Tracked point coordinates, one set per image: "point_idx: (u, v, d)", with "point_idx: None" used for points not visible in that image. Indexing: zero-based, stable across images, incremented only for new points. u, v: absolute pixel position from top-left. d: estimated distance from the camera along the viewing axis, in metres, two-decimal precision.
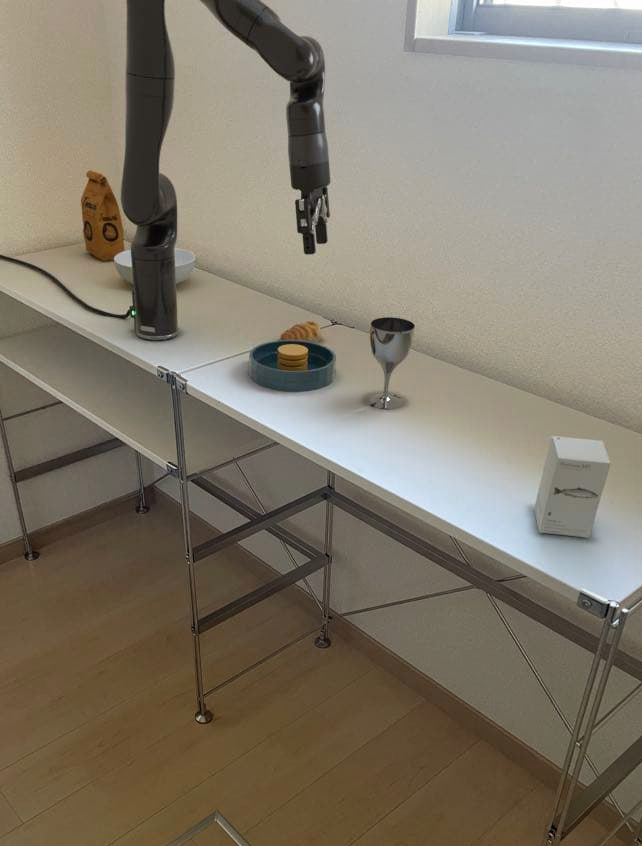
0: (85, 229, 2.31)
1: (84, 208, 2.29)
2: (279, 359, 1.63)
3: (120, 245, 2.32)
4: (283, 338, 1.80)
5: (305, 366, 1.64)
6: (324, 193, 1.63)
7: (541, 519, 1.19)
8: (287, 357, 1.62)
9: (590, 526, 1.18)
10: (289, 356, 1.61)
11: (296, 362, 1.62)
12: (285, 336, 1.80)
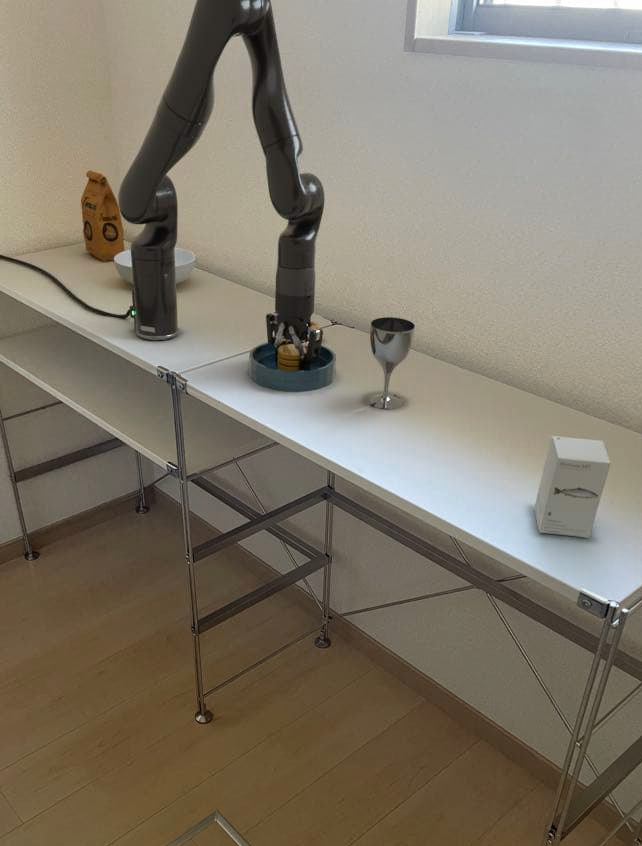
0: (85, 229, 2.31)
1: (84, 208, 2.29)
2: (279, 359, 1.63)
3: (120, 245, 2.32)
4: None
5: None
6: None
7: (541, 519, 1.19)
8: (287, 357, 1.62)
9: (590, 526, 1.18)
10: (289, 356, 1.61)
11: (296, 362, 1.62)
12: None
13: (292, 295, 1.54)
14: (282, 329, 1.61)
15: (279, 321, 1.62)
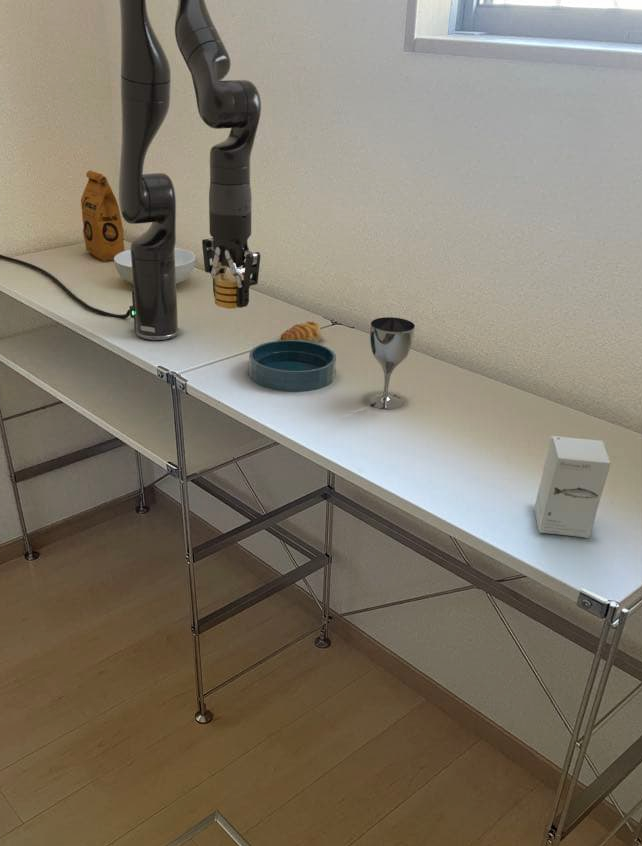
0: (85, 229, 2.31)
1: (84, 208, 2.29)
2: (216, 287, 1.53)
3: (120, 245, 2.32)
4: (283, 338, 1.80)
5: None
6: None
7: (541, 519, 1.19)
8: (224, 284, 1.51)
9: (590, 526, 1.18)
10: (226, 284, 1.51)
11: (233, 290, 1.52)
12: (285, 336, 1.80)
13: (226, 214, 1.44)
14: (218, 254, 1.51)
15: (215, 246, 1.52)
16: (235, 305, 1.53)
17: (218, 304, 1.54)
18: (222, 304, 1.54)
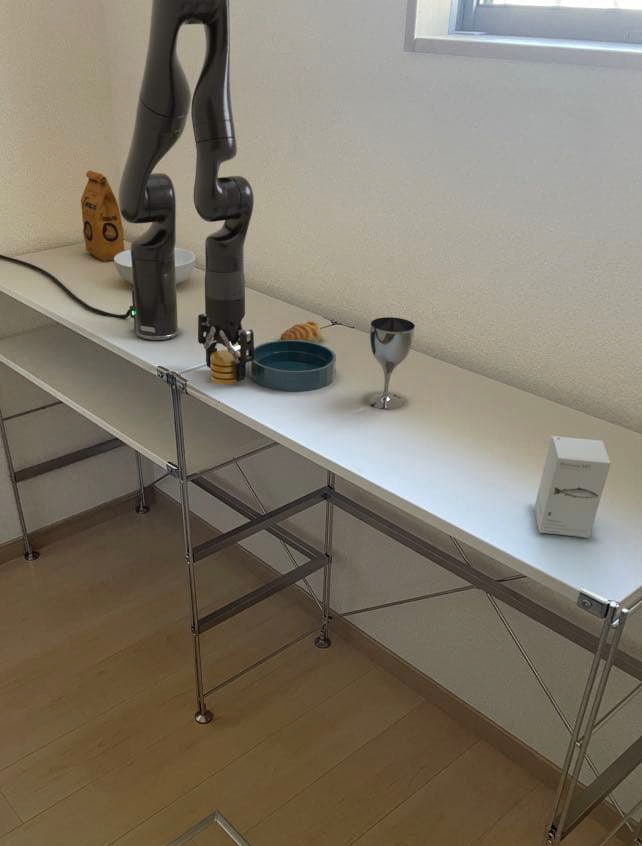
0: (85, 229, 2.31)
1: (84, 208, 2.29)
2: (211, 365, 1.61)
3: (120, 245, 2.32)
4: (283, 338, 1.80)
5: None
6: None
7: (541, 519, 1.19)
8: (219, 363, 1.59)
9: (590, 526, 1.18)
10: (221, 362, 1.59)
11: (228, 368, 1.60)
12: (285, 336, 1.80)
13: (220, 299, 1.52)
14: (213, 333, 1.59)
15: (211, 325, 1.60)
16: (230, 382, 1.61)
17: (213, 380, 1.62)
18: (217, 381, 1.62)
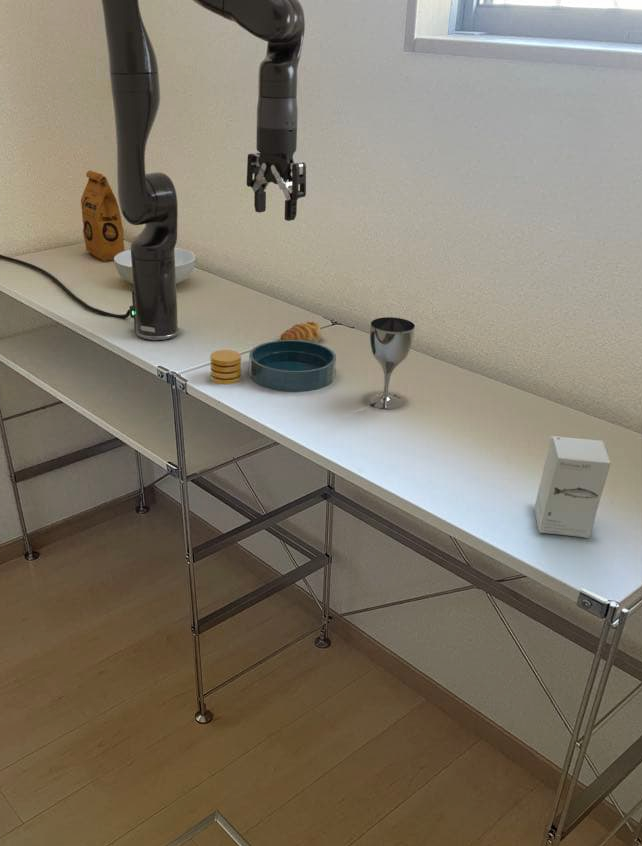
0: (85, 229, 2.31)
1: (84, 208, 2.29)
2: (211, 365, 1.61)
3: (120, 245, 2.32)
4: (283, 338, 1.80)
5: (238, 372, 1.62)
6: None
7: (541, 519, 1.19)
8: (219, 363, 1.59)
9: (590, 526, 1.18)
10: (221, 362, 1.59)
11: (228, 368, 1.60)
12: (285, 336, 1.80)
13: (273, 128, 1.50)
14: (263, 170, 1.57)
15: (261, 163, 1.57)
16: (230, 382, 1.61)
17: (213, 380, 1.62)
18: (217, 381, 1.62)
